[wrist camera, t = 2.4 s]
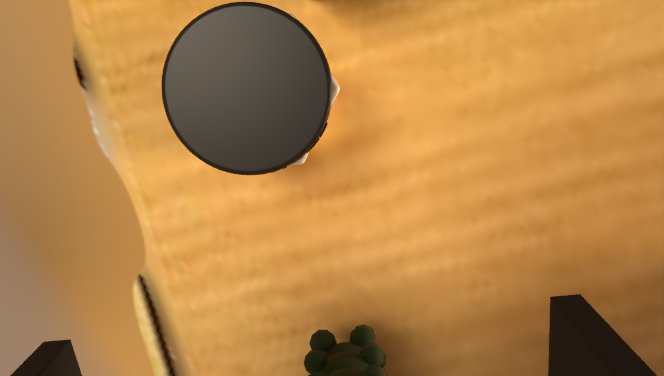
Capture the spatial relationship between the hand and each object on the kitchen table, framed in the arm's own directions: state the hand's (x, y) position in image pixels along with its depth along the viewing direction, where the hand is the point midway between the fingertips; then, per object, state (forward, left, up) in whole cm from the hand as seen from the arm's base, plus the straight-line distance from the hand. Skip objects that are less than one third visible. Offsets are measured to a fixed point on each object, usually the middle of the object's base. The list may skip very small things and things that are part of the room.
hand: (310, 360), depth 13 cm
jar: (-2, -8, -23) cm, 24 cm away
